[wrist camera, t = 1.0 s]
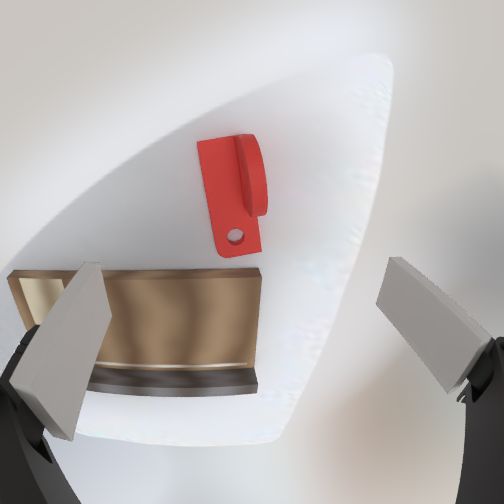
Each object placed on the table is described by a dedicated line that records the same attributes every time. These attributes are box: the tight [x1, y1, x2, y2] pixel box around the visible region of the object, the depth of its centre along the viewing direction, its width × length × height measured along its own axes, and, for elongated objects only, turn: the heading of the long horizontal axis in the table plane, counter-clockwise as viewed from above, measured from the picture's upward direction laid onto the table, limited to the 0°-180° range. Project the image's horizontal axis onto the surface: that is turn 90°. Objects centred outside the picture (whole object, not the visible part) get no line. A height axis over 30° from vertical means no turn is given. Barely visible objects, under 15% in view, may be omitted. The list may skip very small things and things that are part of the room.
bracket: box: [197, 134, 268, 258], centre depth 23 cm, size 12×4×8 cm, turn 8°
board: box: [7, 268, 262, 397], centre depth 29 cm, size 32×16×5 cm, turn 87°
